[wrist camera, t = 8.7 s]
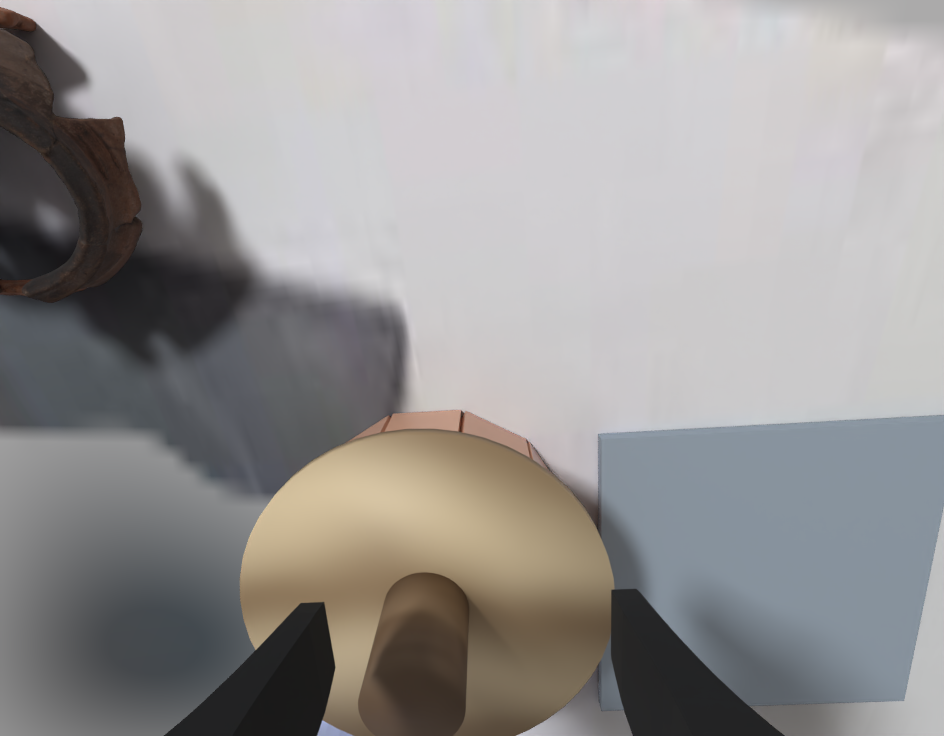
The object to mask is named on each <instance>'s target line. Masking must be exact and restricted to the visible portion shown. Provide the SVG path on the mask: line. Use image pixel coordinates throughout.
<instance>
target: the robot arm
mask: <svg viewBox="0 0 944 736" xmlns="http://www.w3.org/2000/svg"><path fill="white" fill-rule="evenodd" d="M611 660H612V664H613V668H614V673H615V677H616V681H617V686H618V690H619V694H620V698H621V702H622V705H623V708H624V711H625V714H626V717H627V720H628V723H629V726H630V728H631V731H632V734H633V736H784V735H783V734H782V733H780V732H779V731H778V730H777V729H775V728H774V727H773V726H772V725H770V724H769V723H768V722H767V721H766V720H765V719H763V718H762V717H761V716H760V715H759V714H757V713H756V712H755V711H754V710H753V709H752V708H750V707H749V706H748V705H747V704H746V703H745V702H744V701H743V700H741V699H740V698H739V697H738V696H737V695H736V694H735V693H734V692H733V691H732V690H731V689H730V688H729V687H727V686H726V685H725V684H724V683H723V682H722V681H721V680H720V679H719V678H718V677H717V676H716V675H715V674H714V673H713V672H712V671H711V670H710V669H709V668H708V667H707V666H706V665H705V664H704V663H703V662H702V661H701V660H700V659H699V658H698V657H697V656H696V655H695V654H694V653H693V652H692V650H691V649H690V648H689V647H688V646H687V645H686V644H685V643H684V642H683V641H682V640H681V639H680V638H679V637H678V636H677V634H676V633H675V632H674V631H673V630H672V629H671V628H670V627H669V625H668V624H667V623H666V622H665V621H664V620H663V619H662V617H661V616H660V615H659V614H658V613H657V612H656V610H655V609H654V608H653V607H652V606H651V605H650V603H649V602H648V601H647V600H646V598H645V597H644V596H643V595H642V594H641V592H639V591H638V590H637V589H615V590H611ZM335 668H336V667H335V661H334V655H333V649H332V644H331V638H330V632H329V626H328V621H327V615H326V609H325V603H324V602H310V603H300V604H299V605H298V606H297V607H296V608H295V609H294V610H293V611H292V612H291V613H290V614H289V616H288V617H287V618H286V619H285V620H284V621H283V622H282V623H281V624H280V625H279V626H278V627H277V628H276V629H275V630H274V631H273V633H272V634H271V635H270V636H269V637H268V638H267V639H266V640H265V641H264V642H263V643H262V644H261V645H260V646H259V647H258V648H257V649H256V650H255V651H254V653H253V654H252V655H251V656H250V657H249V658H248V659H247V660H246V661H245V662H244V663H243V664H242V665H241V666H240V667H239V668H238V669H237V670H236V671H235V672H234V673H233V674H232V675H231V676H230V677H229V678H228V679H227V680H226V681H225V682H224V683H222V684H221V685H220V686H219V688H217V689H216V690H215V691H214V692H213V693H212V694H211V695H210V696H209V697H208V698H207V699H206V700H205V701H204V702H203V703H201V704H200V705H199V706H198V707H197V708H196V709H195V710H194V711H193V712H191V713H190V714H189V715H188V716H187V717H186V718H185V719H183V720H182V721H181V722H180V723H179V724H177V725H176V726H175V727H174V728H173V729H171V730H170V731H169V732H168V733H167V734H166V735H164V736H353V735H351V734H349V733H346V732H344V731H342V730H339V729H337V728H335V727H334V726H332V725H330V724H328V723H326V722H325V721H323V717H324V714H325V711H326V707H327V703H328V699H329V695H330V690H331V686H332V681H333V677H334V672H335Z"/></svg>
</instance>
